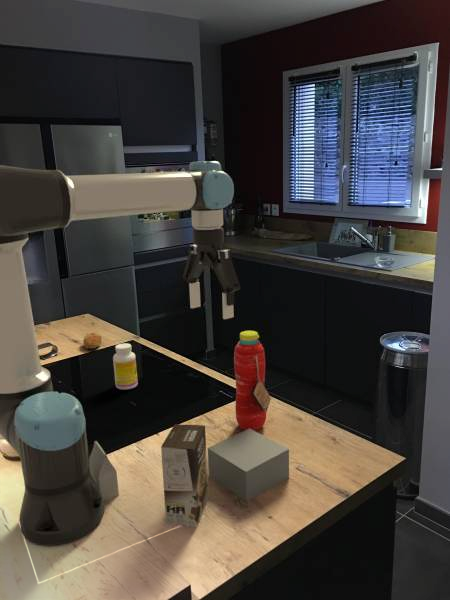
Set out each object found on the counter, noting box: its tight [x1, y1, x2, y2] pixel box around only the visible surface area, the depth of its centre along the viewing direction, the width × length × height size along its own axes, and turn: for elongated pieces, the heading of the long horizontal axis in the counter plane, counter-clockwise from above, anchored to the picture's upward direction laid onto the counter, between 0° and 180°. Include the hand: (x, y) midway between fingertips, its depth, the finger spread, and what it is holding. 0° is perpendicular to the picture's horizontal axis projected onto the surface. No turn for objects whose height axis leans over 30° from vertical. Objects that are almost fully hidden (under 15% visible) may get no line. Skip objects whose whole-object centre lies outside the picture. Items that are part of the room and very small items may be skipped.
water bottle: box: [233, 330, 272, 432], centre depth 128 cm, size 12×8×25 cm, turn 19°
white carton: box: [89, 440, 120, 502], centre depth 107 cm, size 4×7×10 cm, turn 31°
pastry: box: [82, 332, 103, 349], centre depth 194 cm, size 9×7×4 cm
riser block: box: [207, 428, 290, 502], centre depth 110 cm, size 12×12×7 cm
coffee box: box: [160, 423, 210, 527], centre depth 99 cm, size 9×6×16 cm
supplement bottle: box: [112, 342, 139, 391], centre depth 157 cm, size 7×7×13 cm
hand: (211, 312), depth 132 cm, fingers open, 13 cm apart
